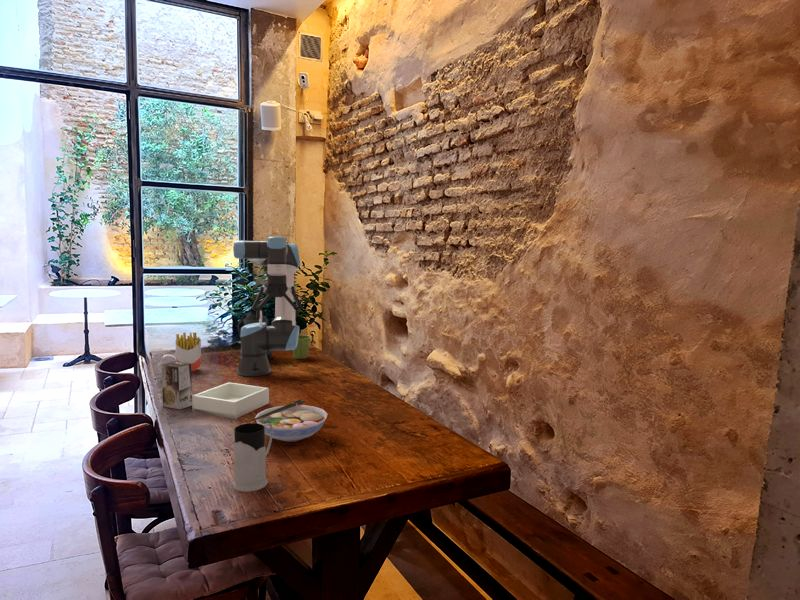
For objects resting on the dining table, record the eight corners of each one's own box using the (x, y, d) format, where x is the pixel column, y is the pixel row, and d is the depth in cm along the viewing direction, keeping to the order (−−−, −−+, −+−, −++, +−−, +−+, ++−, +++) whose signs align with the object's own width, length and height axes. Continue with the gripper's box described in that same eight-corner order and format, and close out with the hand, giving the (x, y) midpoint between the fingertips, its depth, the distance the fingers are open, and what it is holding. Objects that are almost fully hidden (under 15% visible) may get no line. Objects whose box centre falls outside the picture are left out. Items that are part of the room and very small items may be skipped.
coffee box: (193, 405, 203) (192, 363, 201) (179, 409, 197) (178, 367, 195) (175, 401, 206) (174, 360, 205) (161, 406, 201) (160, 364, 199)
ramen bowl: (290, 459, 155) (290, 432, 154) (236, 442, 167) (236, 417, 166) (344, 433, 176) (344, 409, 175) (292, 420, 188) (292, 397, 187)
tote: (192, 411, 195) (192, 395, 194) (229, 396, 214) (228, 382, 213) (235, 418, 188) (234, 402, 188) (268, 403, 207) (268, 388, 206)
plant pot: (293, 354, 292) (293, 334, 291) (314, 355, 291) (314, 335, 290) (285, 359, 281) (285, 338, 280) (307, 360, 279) (307, 339, 278)
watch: (157, 378, 239) (156, 354, 238) (177, 376, 242) (176, 353, 241) (157, 381, 234) (156, 356, 233) (177, 379, 237) (176, 355, 236)
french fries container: (200, 371, 253) (199, 333, 251) (175, 372, 251) (174, 334, 248) (201, 368, 258) (200, 332, 256) (177, 369, 255) (176, 332, 253)
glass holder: (225, 487, 137) (224, 431, 135) (258, 466, 150) (258, 414, 148) (254, 494, 134) (253, 436, 132) (285, 471, 147) (285, 418, 145)
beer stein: (268, 362, 274) (267, 313, 271) (230, 361, 274) (229, 313, 271) (275, 355, 291) (275, 309, 288) (240, 354, 291) (239, 308, 288)
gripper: (246, 275, 210) (247, 328, 212) (309, 274, 220) (309, 325, 222) (244, 274, 217) (245, 325, 219) (305, 273, 227) (305, 323, 229)
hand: (277, 326), depth 221 cm, fingers open, 13 cm apart
